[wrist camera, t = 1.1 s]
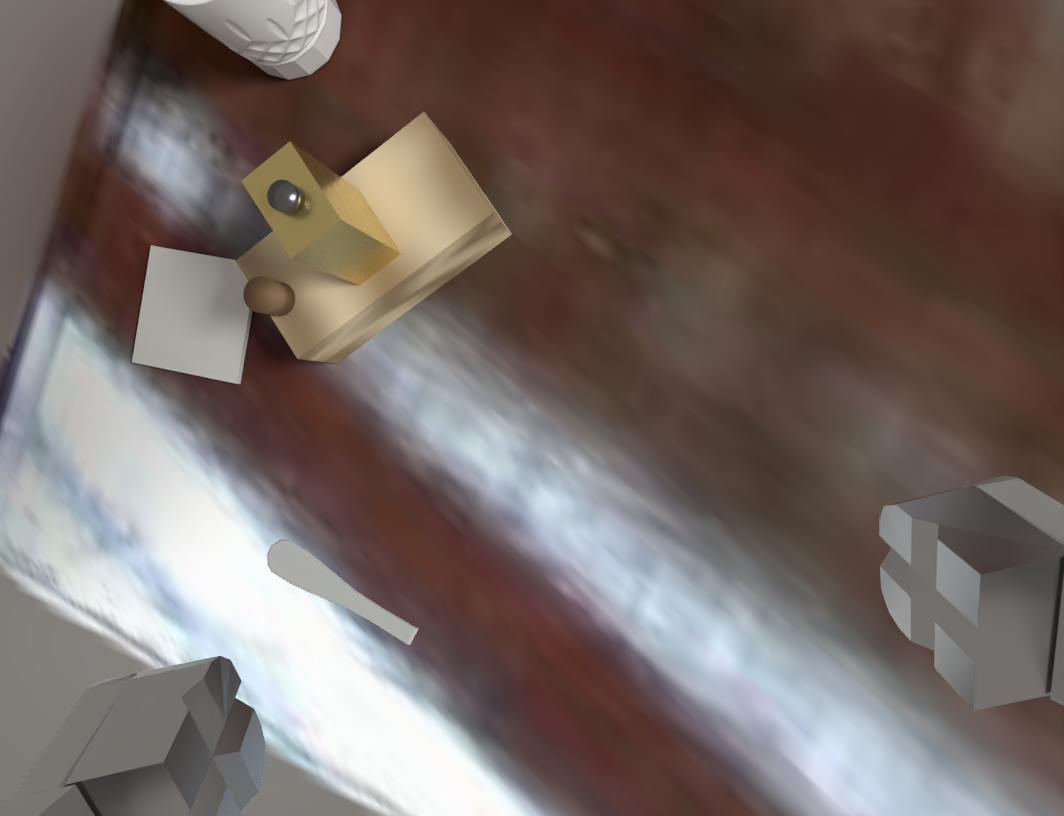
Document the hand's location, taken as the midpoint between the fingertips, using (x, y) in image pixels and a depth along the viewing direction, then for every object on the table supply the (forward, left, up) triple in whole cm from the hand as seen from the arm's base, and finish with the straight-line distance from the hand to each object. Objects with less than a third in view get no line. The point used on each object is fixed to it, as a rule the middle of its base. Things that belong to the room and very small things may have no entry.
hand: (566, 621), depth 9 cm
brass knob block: (-9, -18, -29) cm, 35 cm away
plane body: (-9, -18, -34) cm, 39 cm away
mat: (-3, -31, -34) cm, 46 cm away
